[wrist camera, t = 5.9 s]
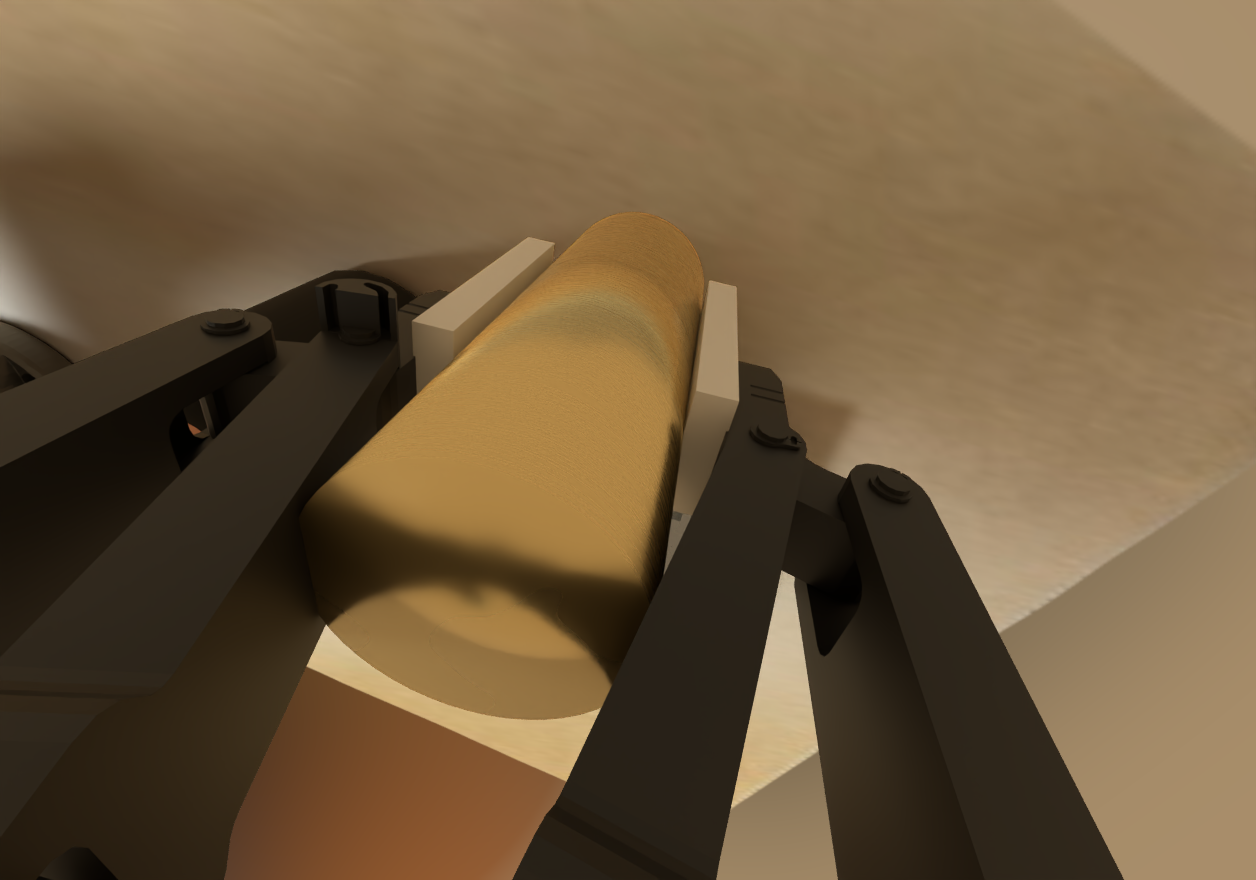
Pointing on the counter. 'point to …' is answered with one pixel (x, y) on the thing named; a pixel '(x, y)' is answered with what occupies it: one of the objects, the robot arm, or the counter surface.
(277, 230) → the counter surface
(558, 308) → the yellow translucent cylinder
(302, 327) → the coffee jar
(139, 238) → the counter surface
